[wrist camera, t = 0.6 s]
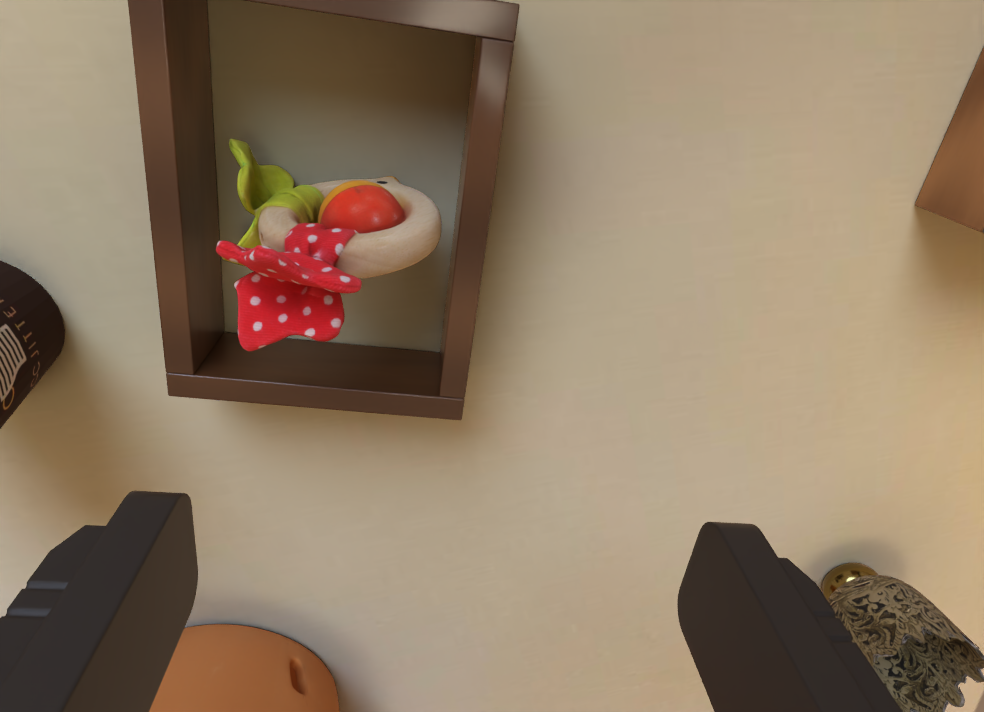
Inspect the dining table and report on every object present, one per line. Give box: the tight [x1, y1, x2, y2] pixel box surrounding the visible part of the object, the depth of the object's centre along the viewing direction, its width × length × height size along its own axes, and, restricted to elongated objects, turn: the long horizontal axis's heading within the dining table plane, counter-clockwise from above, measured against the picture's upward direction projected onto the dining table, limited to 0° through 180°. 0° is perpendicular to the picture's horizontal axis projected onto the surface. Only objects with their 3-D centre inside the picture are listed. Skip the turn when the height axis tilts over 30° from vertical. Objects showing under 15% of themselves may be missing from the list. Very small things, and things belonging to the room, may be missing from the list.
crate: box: [128, 0, 519, 420], centre depth 28 cm, size 17×13×4 cm
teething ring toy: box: [216, 139, 441, 351], centre depth 26 cm, size 6×11×9 cm
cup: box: [822, 563, 984, 712], centre depth 40 cm, size 8×7×8 cm
